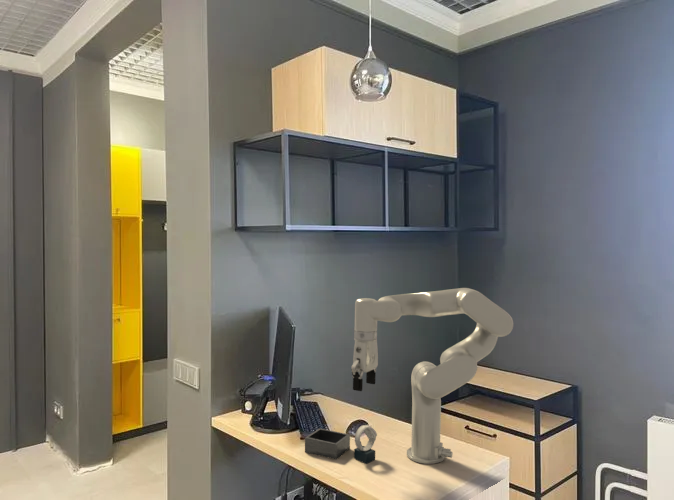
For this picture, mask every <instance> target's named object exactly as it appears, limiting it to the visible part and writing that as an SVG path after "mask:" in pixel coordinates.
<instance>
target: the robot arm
mask: <svg viewBox="0 0 674 500" xmlns="http://www.w3.org/2000/svg"><path fill="white" fill-rule="evenodd" d="M460 314H463V315H464V314H465V315H466V316H468V317H469V318H470V319H472V320H473V321H474V322H475V323H476V326H475V329H474V330H473V332H472V333H471V334H469V335H468V336H467V337H466V338H464V339H463V340H461V341H459V342H457V343H455V344H454V345H452V346H450V347H448V348H447V349H445V350H444V351H442V353H441V355H440V357H439V361H440V362H439V363H440V364H438V365H435V364H434V363H432V362H430V361H425V360H423V361H421V362H418V363H417V364H416V365H415V366H414V367H413V369H412V370H411V376H410V377H411V378H410V380H411V381H410V383H411V398H412V399H411V401H412V402H411V405H412V406H411V447H409V448H407V449H406V456H407V457H408V459H409V460H411V461H413V462H416V463H418V464H419V463H420V464H425V465H426V464H427V465H432V464H434V465H435V464H439V463H441V462H443V461H444V460H445V458H446V457H447V458H450V459H452V458H453V451H452V449H451V448H446V447H444V445H443V442H441V423H442V422H441V421H442V420H441V419H442V418H441V416H442V413H441V412H442V400H441V398H443V397H445V396H447V395H450V393H452V392H454V391H456V390H458V389H459V388H460V387H463V386H464V385H466V384H467V383H469V382H471V380H472V379H473V378H474V377H475V376H476V373H477V371H478V362H479V361H481V360H482V359H484V358H485V357H486V358H487V356H489V355H490V354H491V352H493V350H494V349H495V347H496V345H497V342H498V339H499V338H502V337H506V336H508V335H510V334H511V332H512V331H513V328H514V321H513V320H514V319H513V318H512V316H511V315H510V314H509V312H507V311H506V310H505V309H504V308H502V307H500V305H498V304H496V303H495V302H493V301H492V300H491V299H489V298H488V297H487V296H486V295H484V294H483V293H482V292H480V291H478V290H475V289H472V288H469V287H460V288H459V287H458V288H452V289H451V288H450V289H443V290H435V291H432V290H431V291H421V292H414V293H401V294H393V295H392V294H391V295H386V296H382V297H380V298H379V299H378V300H376V299H375V298H369V297H364V298H363V297H362V298H357V299H356V300H355V303H354V328H353V329H354V332H353V333H354V334H353V335H354V337H353V340H354V345H353V356H352V357H353V358H352V365H351V367H350V369H351V376H352V390H353V391H357V392H362V391H363V375H364V373H365V374H366V375H365V376H366V377H365V378H366V379H365V380H366V381H365V382H366V384H370V385H375V384H376V376H377V375H376V372H377V368H378V366H379V354H378V353H379V351H378V348H379V347H378V321H379V322H385V323H393V322H396V321H398V320H399V319H400V318H401V317H402V316H418V317H419V316H420V317H425V318H436V317H445V316H452V315H453V316H454V315H460Z"/></svg>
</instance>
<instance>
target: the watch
mask: <svg viewBox="0 0 674 500" xmlns="http://www.w3.org/2000/svg"><path fill="white" fill-rule="evenodd" d="M363 433H364V434H365V435H366V437H367V439H368V441H367V443H366V445H363V444H362V441H361V436H362V434H363ZM377 436H378V433H377V431H376V430H375V428H373V427H372V426H370V425H368V424H362V425H361V426H359V427H357V430H356V431H355V434H354V443H355V445H356V448H354V449H353V450H354V451H353V453H354V454H353V459H355V460H356V461H359V462H361V463H363V464H366V465H367V464H370V463H371V462H374V461H376V450H375V449H372V448H373V446H374V444H375V442H376V439H377Z"/></svg>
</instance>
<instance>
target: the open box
mask: <svg viewBox="0 0 674 500" xmlns="http://www.w3.org/2000/svg"><path fill="white" fill-rule="evenodd" d="M350 449H351V434H348V433H345V432H340V431H334V430H330V429H325V428H320V427H319V428H318V429H316V430H315V431H313V432H311V433H309V434H308V435H307V436H306V437H304V453H307V454H311V455H315V456H319V457H324V458H328V459H333V460H338V459H339V458H340V457H341V456H343V455H345V453H346V452H347V451H349V450H350Z"/></svg>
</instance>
